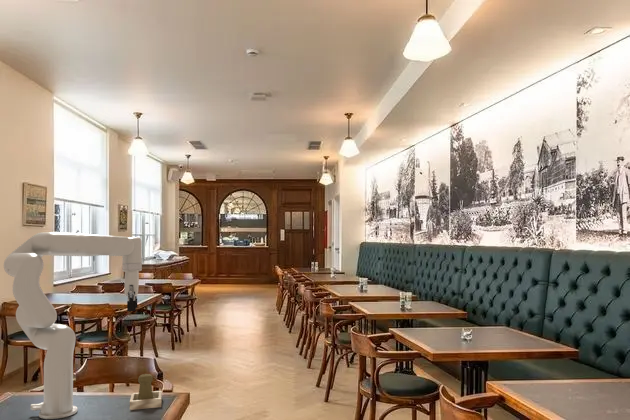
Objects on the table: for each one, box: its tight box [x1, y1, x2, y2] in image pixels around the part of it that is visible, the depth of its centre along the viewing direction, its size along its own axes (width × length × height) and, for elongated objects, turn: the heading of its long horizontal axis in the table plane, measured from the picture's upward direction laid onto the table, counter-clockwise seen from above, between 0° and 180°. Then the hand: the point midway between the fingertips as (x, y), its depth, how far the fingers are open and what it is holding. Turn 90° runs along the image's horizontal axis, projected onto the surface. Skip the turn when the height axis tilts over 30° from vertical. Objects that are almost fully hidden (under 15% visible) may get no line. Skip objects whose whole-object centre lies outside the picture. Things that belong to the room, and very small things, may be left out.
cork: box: [137, 373, 154, 400], centre depth 206 cm, size 6×6×11 cm
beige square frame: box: [129, 390, 163, 411], centre depth 206 cm, size 11×11×3 cm
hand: (132, 309), depth 224 cm, fingers open, 9 cm apart
